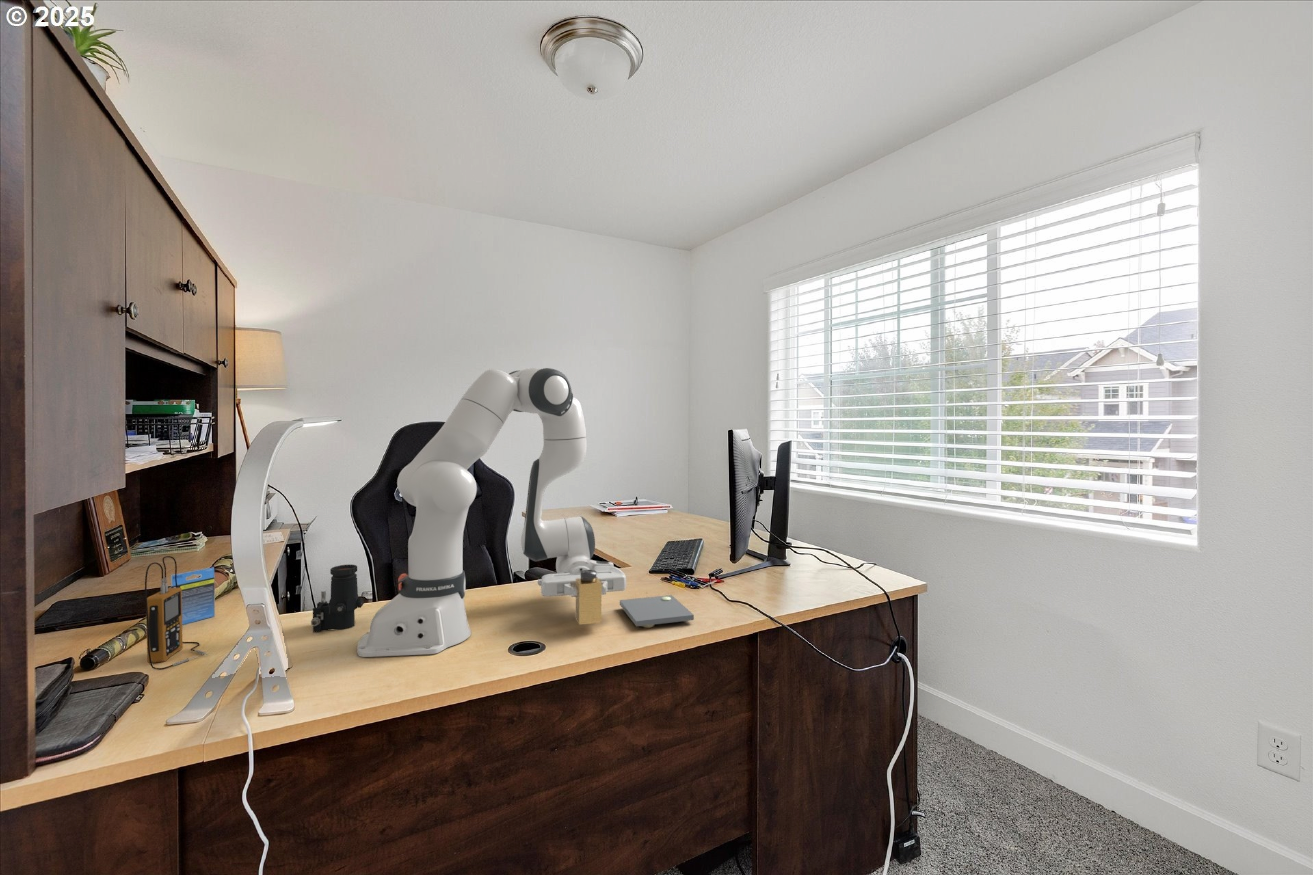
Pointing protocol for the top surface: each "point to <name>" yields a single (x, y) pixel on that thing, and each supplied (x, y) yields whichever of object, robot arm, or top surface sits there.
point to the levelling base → (655, 610)
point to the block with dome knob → (588, 598)
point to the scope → (338, 601)
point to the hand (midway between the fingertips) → (589, 592)
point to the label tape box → (196, 594)
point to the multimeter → (164, 621)
